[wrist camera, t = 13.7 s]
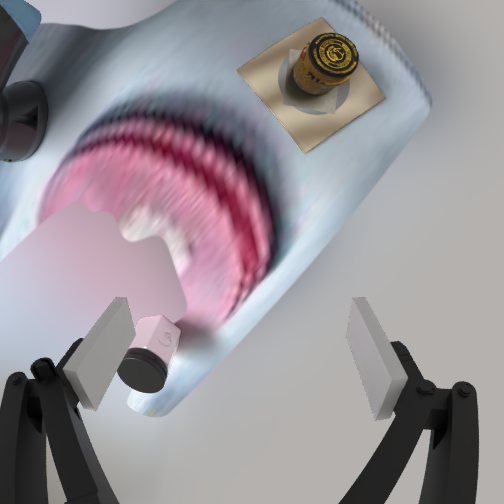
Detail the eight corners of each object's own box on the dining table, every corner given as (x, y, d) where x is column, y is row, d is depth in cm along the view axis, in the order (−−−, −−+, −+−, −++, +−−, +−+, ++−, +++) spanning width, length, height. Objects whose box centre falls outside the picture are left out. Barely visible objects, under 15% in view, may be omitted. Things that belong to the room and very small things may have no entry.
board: (237, 71, 36) (236, 70, 35) (319, 19, 32) (321, 16, 31) (303, 152, 40) (305, 153, 39) (382, 98, 37) (385, 97, 35)
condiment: (341, 59, 34) (370, 35, 23) (334, 114, 37) (362, 107, 26) (289, 49, 34) (300, 18, 22) (281, 104, 37) (290, 91, 26)
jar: (191, 336, 53) (176, 383, 41) (165, 356, 55) (148, 401, 44) (153, 304, 50) (130, 347, 39) (130, 327, 52) (105, 369, 41)
